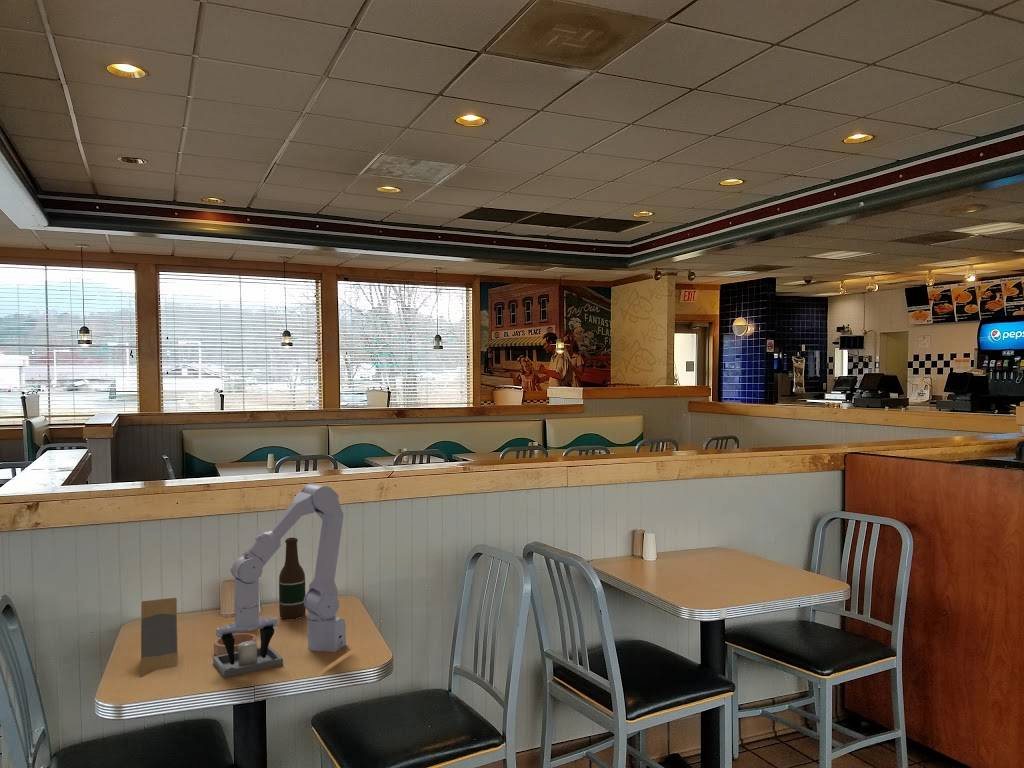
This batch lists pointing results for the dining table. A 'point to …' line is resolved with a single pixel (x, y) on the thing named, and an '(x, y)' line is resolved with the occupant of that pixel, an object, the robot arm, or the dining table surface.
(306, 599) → the robot arm
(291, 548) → the beer bottle
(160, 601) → the sandwich container
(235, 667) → the tray
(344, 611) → the dining table surface
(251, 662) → the white cylinder
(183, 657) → the dining table surface
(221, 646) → the bowl
